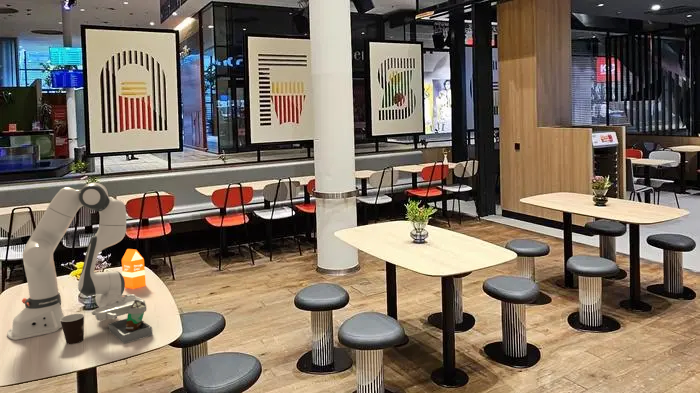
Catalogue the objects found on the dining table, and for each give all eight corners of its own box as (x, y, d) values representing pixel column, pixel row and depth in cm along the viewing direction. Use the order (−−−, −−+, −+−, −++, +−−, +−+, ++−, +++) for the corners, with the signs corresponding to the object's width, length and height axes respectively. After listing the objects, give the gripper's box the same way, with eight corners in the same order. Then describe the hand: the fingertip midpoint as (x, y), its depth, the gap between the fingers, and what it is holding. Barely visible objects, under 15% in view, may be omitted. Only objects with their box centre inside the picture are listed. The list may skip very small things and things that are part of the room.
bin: (124, 343, 220) (123, 335, 220) (109, 331, 234) (108, 323, 233) (152, 335, 228) (151, 327, 227) (136, 323, 241) (135, 316, 241)
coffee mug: (77, 345, 220) (74, 322, 219) (58, 345, 222) (55, 321, 220) (95, 334, 231) (93, 311, 230) (77, 333, 233) (74, 310, 231)
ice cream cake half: (139, 333, 228) (144, 310, 227) (124, 331, 226) (128, 308, 225) (145, 323, 240) (149, 301, 239) (130, 320, 238) (134, 298, 238)
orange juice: (136, 284, 300) (133, 247, 298) (146, 285, 295) (143, 248, 293) (123, 287, 293) (120, 250, 292) (132, 288, 288) (130, 250, 287)
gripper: (89, 305, 234) (99, 313, 224) (137, 293, 247) (149, 300, 237) (91, 319, 235) (101, 328, 225) (138, 306, 248) (151, 314, 238)
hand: (126, 313), depth 231 cm, fingers open, 8 cm apart
